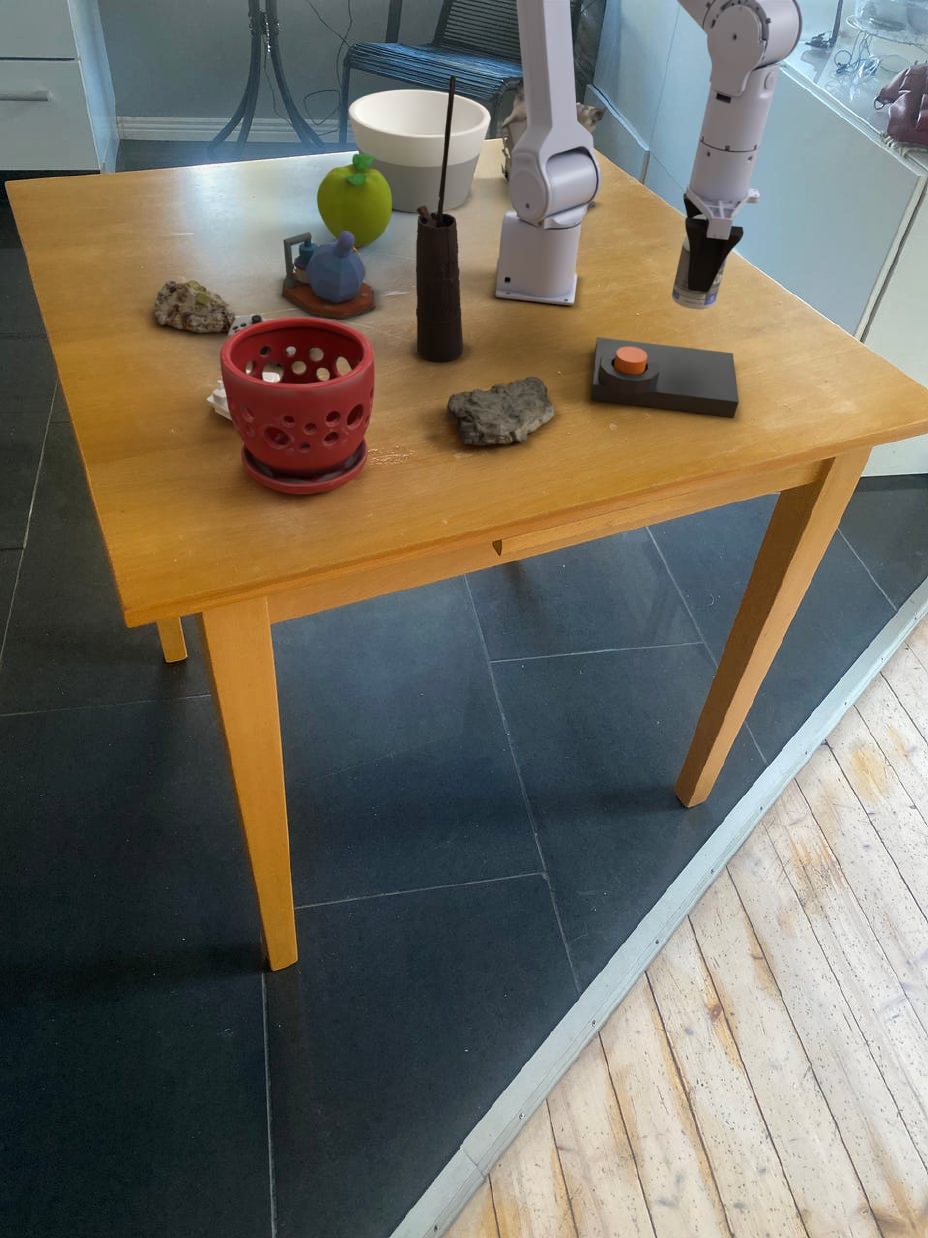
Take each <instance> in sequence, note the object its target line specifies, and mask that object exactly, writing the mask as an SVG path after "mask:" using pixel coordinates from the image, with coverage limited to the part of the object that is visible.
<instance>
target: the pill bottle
mask: <svg viewBox="0 0 928 1238" xmlns="http://www.w3.org/2000/svg"><path fill="white" fill-rule="evenodd" d="M693 218H697V219H705V220H706V216H705V215H704V214H701V215H697V216H695V217H693ZM680 250H681V251H680V255H679V260H678V264H677V268H676V273H675V278H674V282H673V287H672V291H671V298H672V300H673V302H674V303H675V304H676V305H679V306H681V307H684V308H688V309H691V310H692V309H693V310H705V309H706V310H707V309H709V308H711V307H713V306H714V305H715V303H716V301H717V297H718V294H719V290H720V286H721V283H722V279H723V275H724V270H725V266H726V262H727V258H728V256H727V257H726V259H725V260H724V262H723V264H722V266H721V268H720V270H719V272H718V274H717V276H716V278H715V281H714V283H713V285H712V286H711V288H710V290H709V291H708V292H699V291H690V290H689V289H688V268H689V255H690V246H689V240H688V236H687V235H686V236H685V237H684V239H683V241H682V245H681V249H680Z"/></svg>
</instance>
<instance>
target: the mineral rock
mask: <svg viewBox="0 0 928 1238" xmlns="http://www.w3.org/2000/svg"><path fill="white" fill-rule="evenodd" d="M156 295H157V296H156V299H155V300H156V301H155V302H154V317H156V318H157V322H158V323H159V324H160V325H167V326H171V327H173V328H176V329H178V330H189V331H191V332H195V333H198V334H205V333H213V332H214V333H221V332H226V333H229V330H230V328H231V326H232V324H233V322H234V321H235V320H236V317H235V316H236V313H235V312H234V311H233V310H231V308H230V305H229V304H228V303H227V302H226V301H225V300H223V298H222V297H221V295H219V294H218V293H215V292H211V291H210V290H207V287H205V286H204V285H201V284H200V283H199V281H197V280H191V279H190V280H188V281H185V282H176V281H175V280H168V281H167V280H166V281H164V284H163V286H162V288H160V290H158V291H157V294H156Z"/></svg>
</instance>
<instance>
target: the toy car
mask: <svg viewBox="0 0 928 1238" xmlns="http://www.w3.org/2000/svg"><path fill="white" fill-rule="evenodd" d="M250 372H251V369H250V370H249V369H246V373H247V374H248V373H250ZM219 377H220V379H221V380H220V379H219V380H216V383H218V388H215V389H214V390H213V391H211V394H210V396H209V397H207V398H206V402H208V403H209V404H210V405H211V406H212V407H213V408H214V412H215V413H217V414H219V415H221V416H223V417H224V418H227V420H230V421H232V419H231V416H230V413H229V410H228V404H227V398H226V393H225V389H224V384H223V380H222V375H220V376H219ZM280 379H281V377H280V375H279V374H278V373H276V372H268V371H267V372H265V371H263V380H264V381H268V382H273V383H276V382H278V381H279V380H280Z"/></svg>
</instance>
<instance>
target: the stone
mask: <svg viewBox="0 0 928 1238" xmlns="http://www.w3.org/2000/svg"><path fill="white" fill-rule="evenodd" d="M446 413H447V414H446V415H447V418H448V419H449V421H451V422H452V424H454V426H455V427H456V428H457V429H458V430H459V438H460V441H461V444H463V445H473V446H474V445H475V446H491V445H495V444H503V445H505V446H507V445H509V444H510V443H512V442H520V443H525V442H526V441H528V434H530V433H532V432H536V430H537V429H539V428H540V427H542V425H545V424H547V423H548V422H549V421H550V420H552V418H553V417H555V406H554V404H552V402H550V400H549V395H548V387H547V385H546V384H545V382H544V381H543V380H542V379H540V378H539V377H537V376H528V377H525V378H524V379H518V380H515V381H511V382H508V383H502V382H501V383H495V384H494V385H492V386H491V388H490V389H488V390H485V391H484V390H482V389H480V388H475V389H474V390H471V391H467V390H466V391H465V390H464V391H461V392H457V393H453V394H451V395H450V397H449V398H448V401H447V403H446Z"/></svg>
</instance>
